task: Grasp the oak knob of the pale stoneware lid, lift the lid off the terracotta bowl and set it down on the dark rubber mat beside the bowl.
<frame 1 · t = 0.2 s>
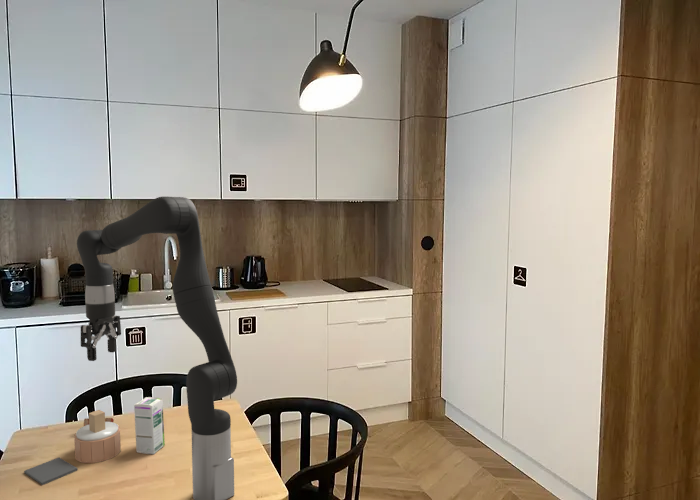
hand: (102, 356, 151), 27 cm above the table, fingers open, 8 cm apart
lid: (97, 432, 150), point 6 cm above the table, touching bowl
syrup box: (150, 449, 153), on the table
fruit slice: (99, 433, 163), on the table
bowl: (98, 452, 151), on the table
mat: (51, 471, 140), on the table
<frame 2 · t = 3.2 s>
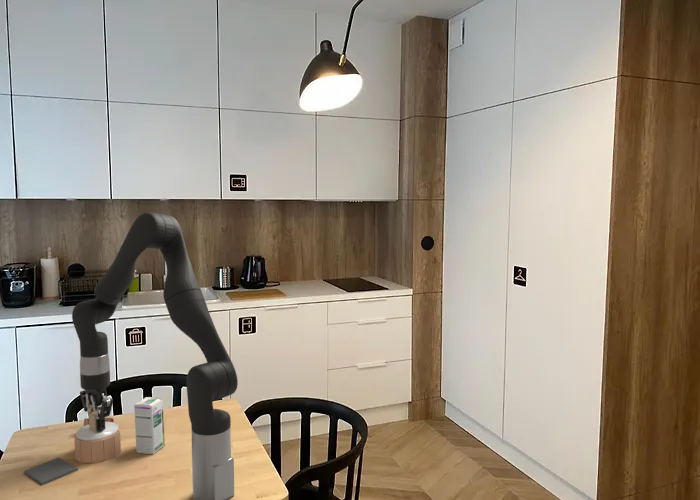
hand: (97, 428, 150), 7 cm above the table, fingers closed on lid, 3 cm apart
lid: (97, 432, 150), point 6 cm above the table, touching bowl, gripper
everything else where it was.
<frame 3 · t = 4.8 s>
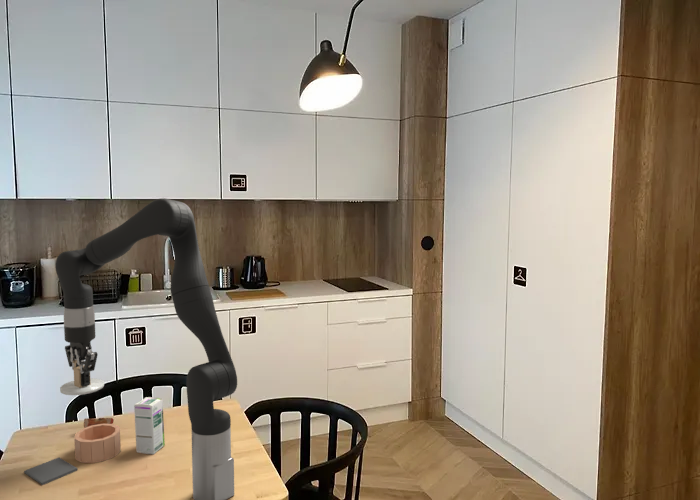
hand: (82, 383, 146), 21 cm above the table, fingers closed on lid, 3 cm apart
lid: (82, 387, 146), point 20 cm above the table, touching gripper
everything else where it was.
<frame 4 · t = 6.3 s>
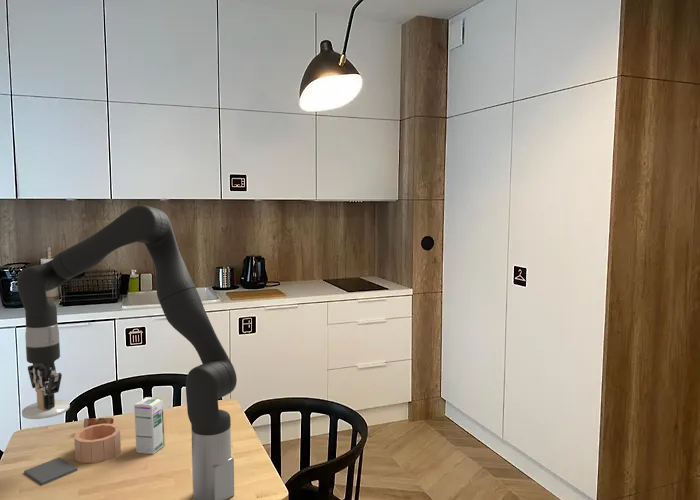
hand: (46, 406, 138), 18 cm above the table, fingers closed on lid, 3 cm apart
lid: (46, 410, 138), point 17 cm above the table, touching gripper
everything else where it was.
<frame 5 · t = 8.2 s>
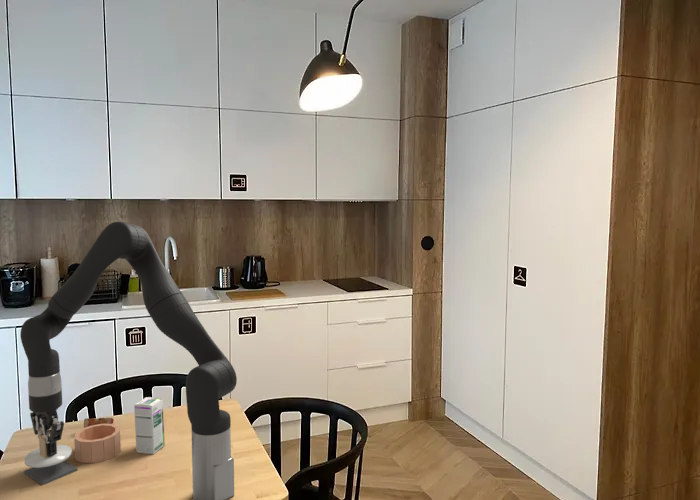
hand: (48, 453, 139), 5 cm above the table, fingers closed on lid, 3 cm apart
lid: (48, 457, 139), point 4 cm above the table, touching gripper
everything else where it was.
when the fingers open (3 cm above the table, at t = 9.6 s): lid drops 1 cm, resting on mat.
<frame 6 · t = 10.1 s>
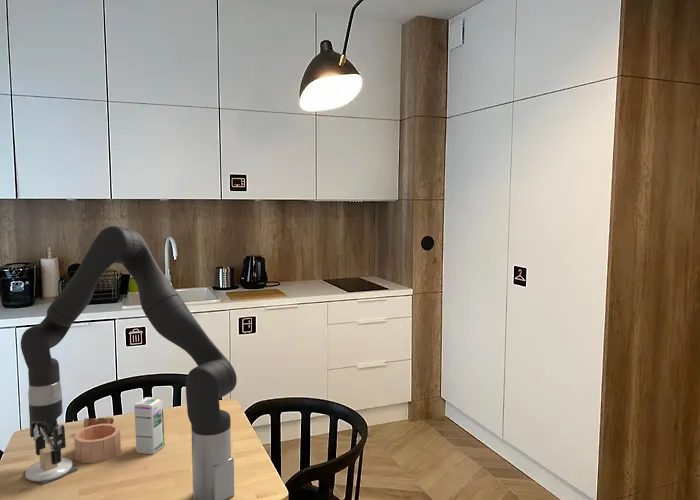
hand: (48, 458, 139), 4 cm above the table, fingers open, 8 cm apart
lid: (49, 470, 140), point 1 cm above the table, touching mat
everything else where it was.
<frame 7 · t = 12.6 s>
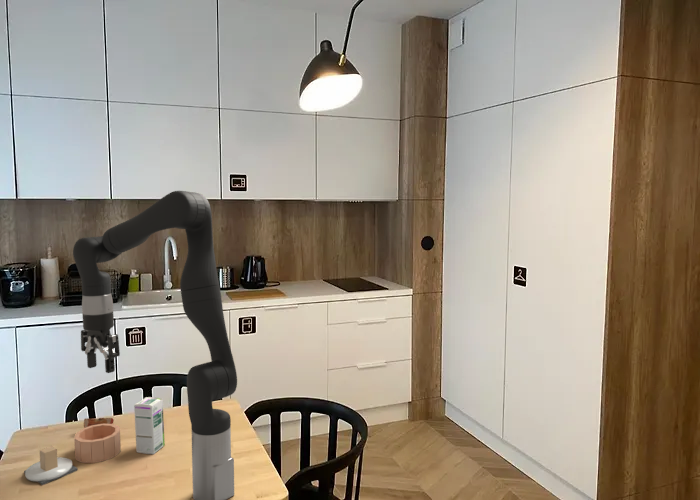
hand: (101, 369, 143), 26 cm above the table, fingers open, 8 cm apart
nothing on the table moved.
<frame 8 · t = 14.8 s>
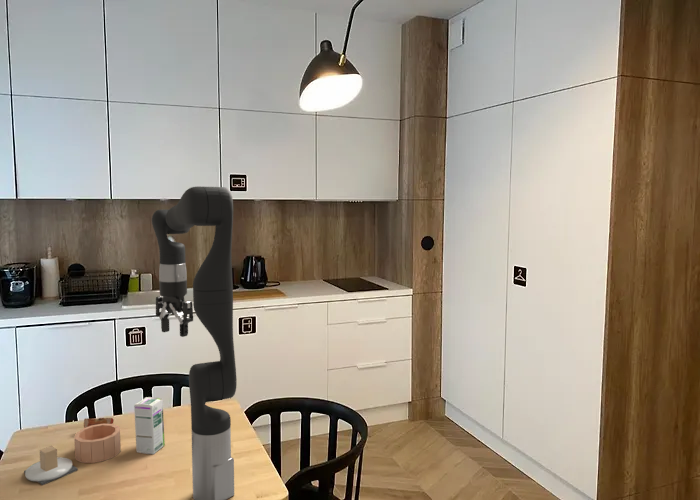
hand: (174, 333, 154), 33 cm above the table, fingers open, 8 cm apart
nothing on the table moved.
at the end: lid inside the target area on the mat (0.3 cm from its centre), point 0.6 cm above the mat's base; lid touching mat; lid tilted 0° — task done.
